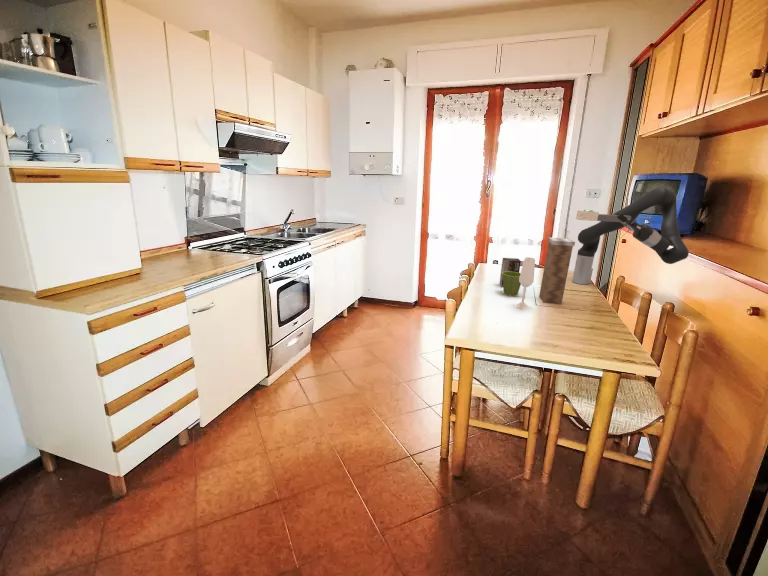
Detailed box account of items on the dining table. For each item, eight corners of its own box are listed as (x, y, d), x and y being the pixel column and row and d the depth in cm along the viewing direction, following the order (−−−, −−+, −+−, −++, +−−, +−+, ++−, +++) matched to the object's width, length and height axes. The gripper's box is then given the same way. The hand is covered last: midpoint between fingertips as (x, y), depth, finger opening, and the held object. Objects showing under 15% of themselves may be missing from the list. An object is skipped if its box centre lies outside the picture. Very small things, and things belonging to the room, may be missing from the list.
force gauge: (626, 221, 184) (628, 212, 182) (630, 223, 179) (633, 213, 178) (575, 218, 187) (577, 209, 186) (579, 219, 182) (581, 210, 181)
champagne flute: (512, 305, 188) (519, 258, 180) (518, 302, 192) (525, 256, 185) (525, 309, 183) (533, 260, 176) (531, 306, 188) (539, 258, 181)
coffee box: (514, 285, 223) (518, 258, 218) (517, 288, 217) (521, 260, 212) (498, 284, 224) (502, 257, 219) (500, 287, 218) (504, 259, 213)
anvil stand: (557, 298, 202) (568, 238, 193) (562, 304, 193) (575, 242, 183) (537, 296, 204) (548, 237, 194) (542, 302, 194) (553, 240, 185)
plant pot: (525, 294, 207) (528, 274, 203) (515, 298, 198) (519, 278, 195) (505, 289, 214) (508, 269, 211) (495, 293, 206) (497, 273, 203)
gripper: (645, 227, 187) (617, 207, 187) (660, 231, 174) (629, 210, 173) (634, 239, 190) (606, 220, 189) (648, 244, 176) (617, 223, 176)
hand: (617, 215), depth 181 cm, fingers closed on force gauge, 3 cm apart
